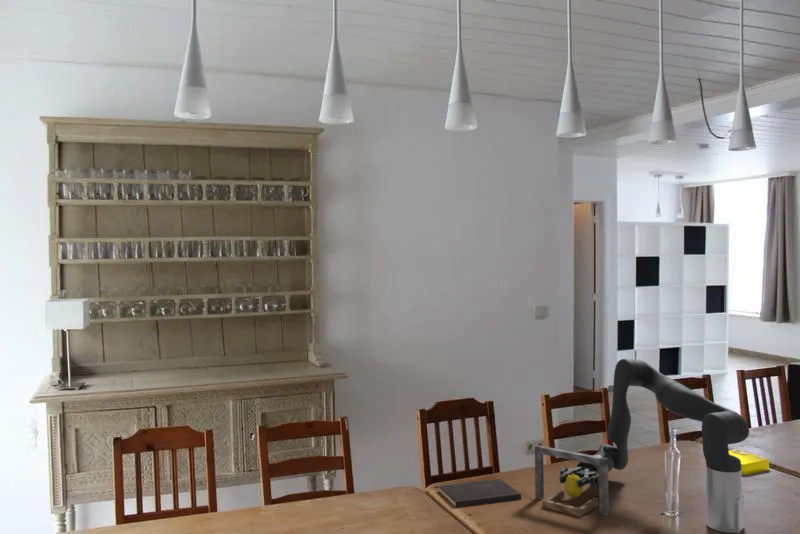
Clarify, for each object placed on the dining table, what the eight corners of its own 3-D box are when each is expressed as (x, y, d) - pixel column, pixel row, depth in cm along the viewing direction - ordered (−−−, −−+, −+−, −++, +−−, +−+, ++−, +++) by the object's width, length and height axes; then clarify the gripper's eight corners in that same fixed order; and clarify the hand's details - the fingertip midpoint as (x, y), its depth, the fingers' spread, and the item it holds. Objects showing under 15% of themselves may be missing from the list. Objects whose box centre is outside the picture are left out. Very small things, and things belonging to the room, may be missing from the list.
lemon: (583, 502, 205) (582, 477, 205) (565, 501, 206) (564, 476, 206) (582, 496, 211) (581, 471, 211) (564, 495, 212) (564, 470, 212)
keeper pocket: (614, 509, 203) (614, 454, 203) (598, 521, 194) (597, 464, 194) (545, 492, 219) (544, 442, 219) (527, 503, 210) (526, 450, 209)
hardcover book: (438, 492, 222) (438, 485, 222) (500, 485, 228) (500, 478, 228) (455, 509, 207) (455, 502, 207) (521, 500, 213) (521, 493, 213)
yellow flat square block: (708, 465, 247) (707, 452, 247) (735, 459, 253) (735, 447, 253) (743, 476, 233) (743, 463, 233) (771, 470, 240) (771, 457, 240)
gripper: (572, 453, 224) (549, 466, 211) (613, 461, 215) (591, 474, 202) (573, 475, 224) (549, 489, 211) (613, 483, 215) (591, 498, 202)
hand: (570, 482), depth 206 cm, fingers closed on lemon, 5 cm apart
